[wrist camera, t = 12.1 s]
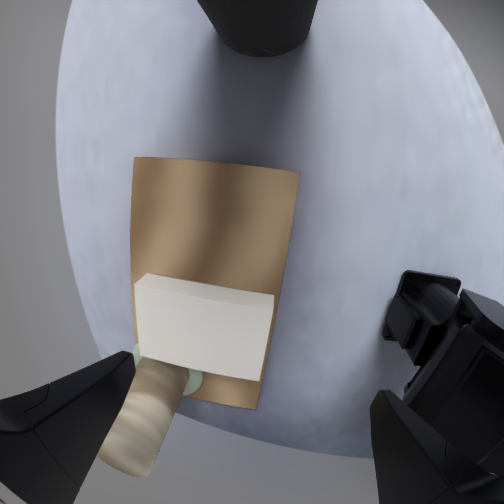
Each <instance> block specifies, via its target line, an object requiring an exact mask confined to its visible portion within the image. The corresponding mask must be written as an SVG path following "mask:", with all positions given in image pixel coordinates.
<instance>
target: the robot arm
mask: <svg viewBox="0 0 504 504" xmlns="http://www.w3.org/2000/svg"><path fill="white" fill-rule="evenodd" d="M408 275H410V277H409V278H408V279H407V276H408ZM456 283H457V284H456ZM455 284H456V285H455ZM460 286H461V281H460V280H459V279H458V278H454V277H448V276H441V275H435V274H429V273H423V272H417V271H411V270H407V271H405V272H404V273H403V275H402V279H401V282H400V285H399V288H398V291H397V294H396V295H395V296H394V299H393V302H392V305H391V308H390V311H389V314H388V316H387V319H386V322H387V323H386V326H385V328H384V331H383V334H382V335H383V338H384V339H385V340H388V341H398V343H399V344H400V346H401V348H402V349H405V350H406V351H407V353H408V355H409V357H410V358H411V360H412V362H413V364H414V365H415V366H421V367H420V368H419V370H418V371H417V373H416V374H415V376H414V377H413V378H412V380H411V381H410V382H408V383H407V385H406V386H405V388H404V396H403V399H402V400H401V399H399V398H398V397H397V396H396V395H395V394H394V393H393V392H392V391H390V390H380V391H378V393H377V395H376V396H375V398H374V400H373V402H372V404H371V406H370V419H371V440H372V449H373V456H374V463H375V470H376V478H377V486H378V495H379V504H504V306H503V305H501V304H500V303H498V302H497V301H494V300H492V299H489V298H487V297H484V296H481V295H479V294H476V293H474V292H471V291H468V290H466V289H462V291H461V293H460V295H459V296H460V298H459V297H458V296H457V294H458V291H459V289H460ZM389 333H390V334H389ZM387 334H389V335H388V336H386V335H387ZM135 373H136V367H135V361H134V355H133V354H132V353H130V352H127V351H120V352H118V353H116V354H114V355H112V356H109V357H107V358H105V359H103V360H101V361H99V362H97V363H94V364H92V365H90V366H87V367H85V368H83V369H81V370H78V371H77V372H74V373H72V374H70V375H67V376H65V377H63V378H60V379H58V380H56V381H53V382H51V383H50V384H46V385H44V386H41V387H39V388H36V389H34V390H31V391H28V392H25V393H22V394H19V395H15V396H12V397H8V398H4V399H1V400H0V504H73V503H74V500H75V498H76V496H77V494H78V492H79V490H80V487H81V486H82V483H83V482H84V479H85V477H86V475H87V473H88V471H89V469H90V467H91V465H92V463H93V461H94V460H95V458H96V456H97V454H98V452H99V450H100V448H101V446H102V444H103V442H104V440H105V438H106V436H107V435H108V433H109V431H110V429H111V427H112V425H113V423H114V421H115V420H116V418H117V416H118V414H119V412H120V410H121V408H122V406H123V404H124V402H125V399H126V396H127V394H128V391H129V389H130V386H131V384H132V381H133V379H134V377H135Z"/></svg>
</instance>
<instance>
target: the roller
mask: <svg viewBox="0 0 504 504" xmlns="http://www.w3.org/2000/svg"><path fill="white" fill-rule="evenodd" d="M189 377H190V374H189V370H188V368H186V367H182V366H178V365H174V364H170V363H166V362H162V361H159V360H155V359H151V358H148V357H144V356H143V357H142V359H141V360H140V362H139V363H138V365H137V366H136V373H135V377H134V379H133V381H132V384H131V386H130V389H129V391H128V394H127V396H126V399H125V402H124V404H123V406H122V408H121V410H120V412H119V414H118V416H117V418H116V420H115V421H114V423H113V425H112V427H111V429H110V431H109V433H108V435H107V436H106V438H105V440H104V442H103V444H102V446H101V448H100V450H99V452H98V454H97V457H99V458H100V459H101V460H102V461H104V462H105V463H107V464H108V465H110V466H111V467H113V468H115V469H117V470H119V471H121V472H124V473H126V474H129V475H132V476H136V477H147V476H149V474H150V472H151V469H152V467H153V464H154V462H155V459H156V457H157V455H158V452H159V450H160V447H161V445H162V442H163V440H164V437H165V435H166V433H167V430H168V428H169V426H170V423H171V421H172V418H173V416H174V414H175V411H176V409H177V407H178V404H179V402H180V399H181V397H182V395H183V392H184V390H185V388H186V385H187V383H188V380H189Z"/></svg>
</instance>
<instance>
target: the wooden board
mask: <svg viewBox="0 0 504 504" xmlns="http://www.w3.org/2000/svg"><path fill="white" fill-rule="evenodd" d="M299 177H300V173H299V172H293V171H286V170H280V169H273V168H265V167H258V166H250V165H242V164H233V163H223V162H213V161H202V160H189V159H174V158H154V157H134V167H133V180H132V197H131V229H130V253H131V285H132V302H133V315H134V326H135V336H136V345H135V347H134V349H133V351H132V354H133V355H134V361H135V367H136V366H137V365H138V363H139V362H140V360H141V359H142V357H143V356H141V355H140V349H139V340H138V330H137V319H136V306H135V289H134V284H135V283H136V282H137V281H138V280H140V279H141V278H142V277H143V276H144V275H145V274H147V273H149V274H159V275H165V276H170V277H175V278H180V279H186V280H191V281H197V282H202V283H208V284H214V285H220V286H226V287H232V288H238V289H244V290H250V291H256V292H263V293H269V294H274V308H273V314H272V320H271V325H270V330H269V335H268V340H267V345H266V350H265V355H264V360H263V365H262V370H261V375H260V380H259V381H254V380H248V379H241V378H235V377H230V376H224V375H219V374H214V373H209V372H204V371H200V370H195V369H191V368H188V370H189V374H190V377H189V380H188V383H187V385H186V388H185V390H184V392H183V395H182V396H187V397H192V398H196V399H200V400H205V401H209V402H214V403H219V404H225V405H230V406H236V407H242V408H248V409H255V410H256V407H257V402H258V398H259V394H260V389H261V385H262V380H263V376H264V371H265V366H266V362H267V357H268V352H269V347H270V342H271V338H272V333H273V328H274V323H275V318H276V312H277V307H278V302H279V297H280V291H281V286H282V281H283V275H284V269H285V264H286V258H287V252H288V247H289V241H290V235H291V229H292V223H293V216H294V210H295V204H296V197H297V191H298V184H299Z"/></svg>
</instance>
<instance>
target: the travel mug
mask: <svg viewBox="0 0 504 504" xmlns="http://www.w3.org/2000/svg"><path fill="white" fill-rule="evenodd" d="M197 1H198V3H199V4H200V6H201V7H202V9H203V10H204V12H205V13H206V15H207V16H208V18H209V20H210V21H211V23H212V24H213V26H214V28H215V29H216V31H217V32H218V34H219V36H220V37H221V38H222V40H223V41H224V42H225V43H226V44H227V45H228V46H229V47H231V48H232V49H234V50H236V51H238V52H240V53H243V54H246V55H250V56H258V57H269V56H276V55H280V54H283V53H286V52H288V51H290V50H292V49H294V48H295V47H297V46H298V45H299V44H300V43H301V42H302V41H303V40H304V39H305V37H306V36H307V34H308V32H309V29H310V26H311V23H312V19H313V16H314V12H315V9H316V5H317V1H318V0H197Z"/></svg>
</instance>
